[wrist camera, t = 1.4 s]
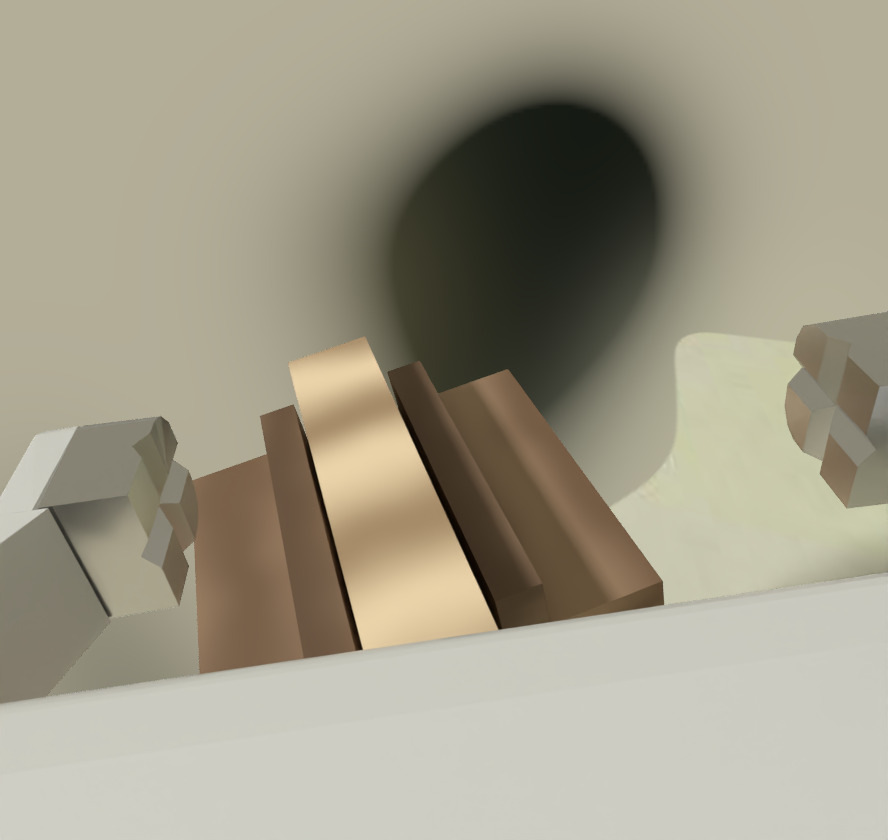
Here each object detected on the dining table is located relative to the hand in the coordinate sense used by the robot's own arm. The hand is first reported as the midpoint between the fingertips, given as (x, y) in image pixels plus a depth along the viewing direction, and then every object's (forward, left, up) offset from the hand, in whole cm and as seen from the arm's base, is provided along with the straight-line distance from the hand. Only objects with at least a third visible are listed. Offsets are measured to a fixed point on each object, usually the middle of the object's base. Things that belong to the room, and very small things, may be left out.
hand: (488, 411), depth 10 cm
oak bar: (-2, -10, -14) cm, 17 cm away
